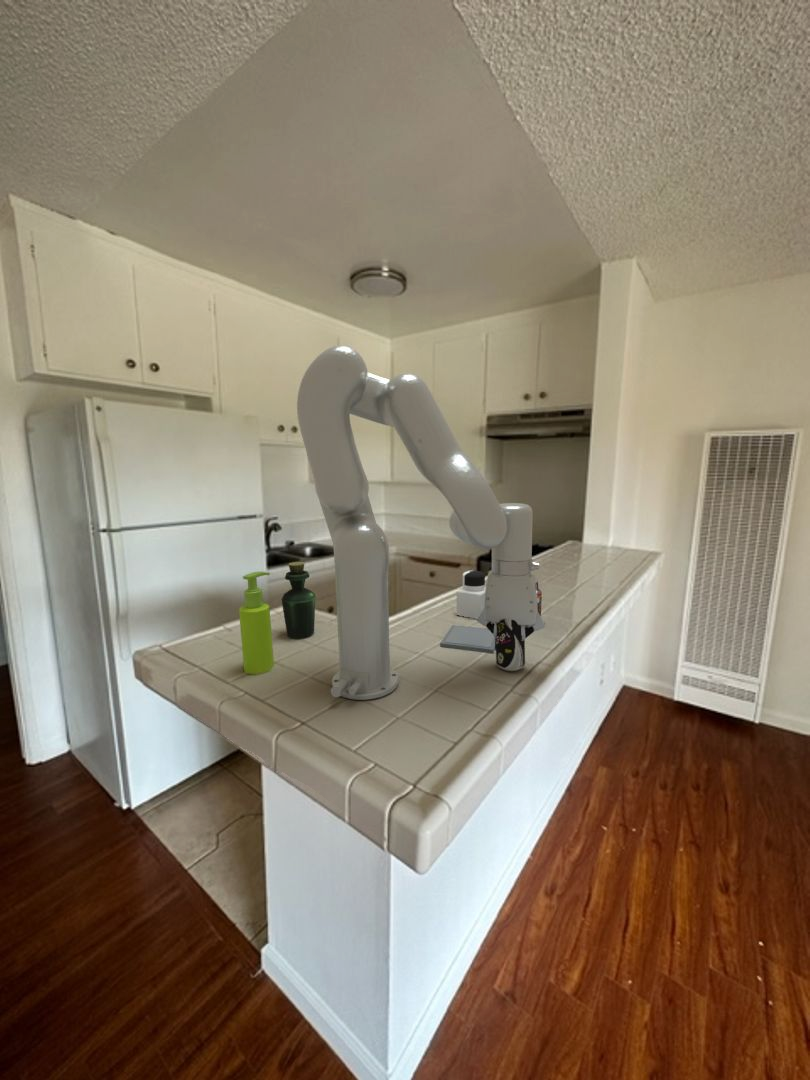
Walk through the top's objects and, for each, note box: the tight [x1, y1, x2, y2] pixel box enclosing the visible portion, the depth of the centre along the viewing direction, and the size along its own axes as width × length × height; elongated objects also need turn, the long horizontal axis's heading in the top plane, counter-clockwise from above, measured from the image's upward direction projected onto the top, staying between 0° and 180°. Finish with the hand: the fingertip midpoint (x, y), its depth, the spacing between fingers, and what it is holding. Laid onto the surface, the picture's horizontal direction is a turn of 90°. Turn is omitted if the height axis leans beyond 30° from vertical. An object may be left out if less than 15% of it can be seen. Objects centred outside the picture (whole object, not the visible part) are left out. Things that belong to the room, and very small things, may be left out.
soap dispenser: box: [238, 571, 275, 675], centre depth 90 cm, size 6×7×20 cm
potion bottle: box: [281, 561, 316, 640], centre depth 107 cm, size 8×8×18 cm
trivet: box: [439, 624, 495, 654], centre depth 103 cm, size 12×12×1 cm
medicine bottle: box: [456, 570, 486, 620], centre depth 120 cm, size 7×7×12 cm
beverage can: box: [495, 619, 526, 672], centre depth 88 cm, size 6×6×12 cm
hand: (509, 654), depth 89 cm, fingers closed on beverage can, 3 cm apart
